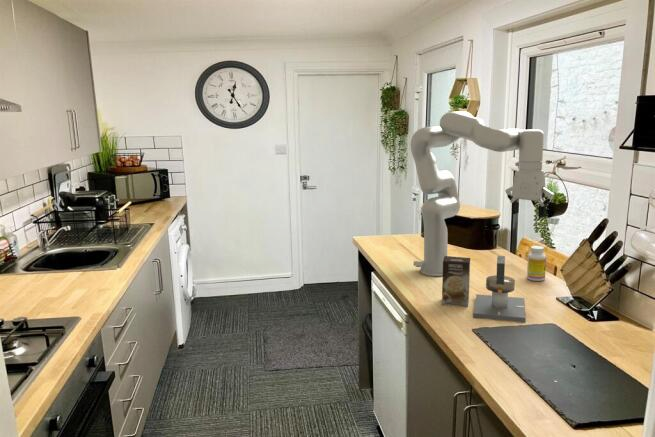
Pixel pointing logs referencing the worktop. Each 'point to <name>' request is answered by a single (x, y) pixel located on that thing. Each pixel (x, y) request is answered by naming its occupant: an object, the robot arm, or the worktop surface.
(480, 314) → the post base
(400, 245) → the worktop surface
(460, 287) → the coffee box
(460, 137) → the robot arm
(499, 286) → the rotary knob
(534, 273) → the supplement bottle
